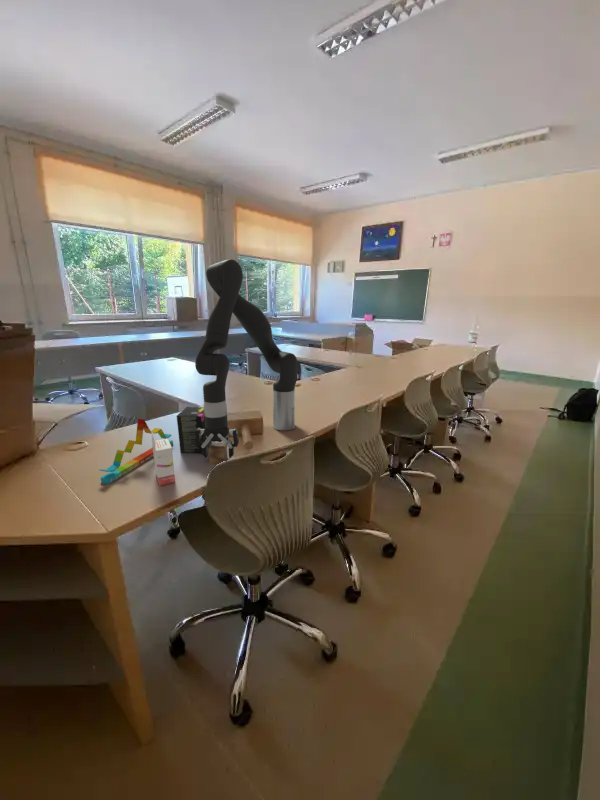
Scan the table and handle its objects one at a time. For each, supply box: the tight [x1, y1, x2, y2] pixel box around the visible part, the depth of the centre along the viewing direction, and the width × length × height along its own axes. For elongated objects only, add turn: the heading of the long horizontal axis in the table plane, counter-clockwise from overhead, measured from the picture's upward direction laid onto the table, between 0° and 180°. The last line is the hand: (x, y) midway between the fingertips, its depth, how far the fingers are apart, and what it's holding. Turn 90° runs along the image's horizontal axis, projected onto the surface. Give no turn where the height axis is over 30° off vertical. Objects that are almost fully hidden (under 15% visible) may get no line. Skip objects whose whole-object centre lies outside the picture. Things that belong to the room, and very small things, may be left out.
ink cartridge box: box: [151, 433, 176, 487], centre depth 105 cm, size 9×5×15 cm, turn 29°
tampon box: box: [176, 406, 212, 454], centre depth 127 cm, size 11×9×15 cm
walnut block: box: [208, 441, 228, 466], centre depth 118 cm, size 5×5×6 cm
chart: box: [98, 418, 174, 485], centre depth 116 cm, size 30×3×15 cm, turn 162°
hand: (218, 456), depth 118 cm, fingers open, 8 cm apart
